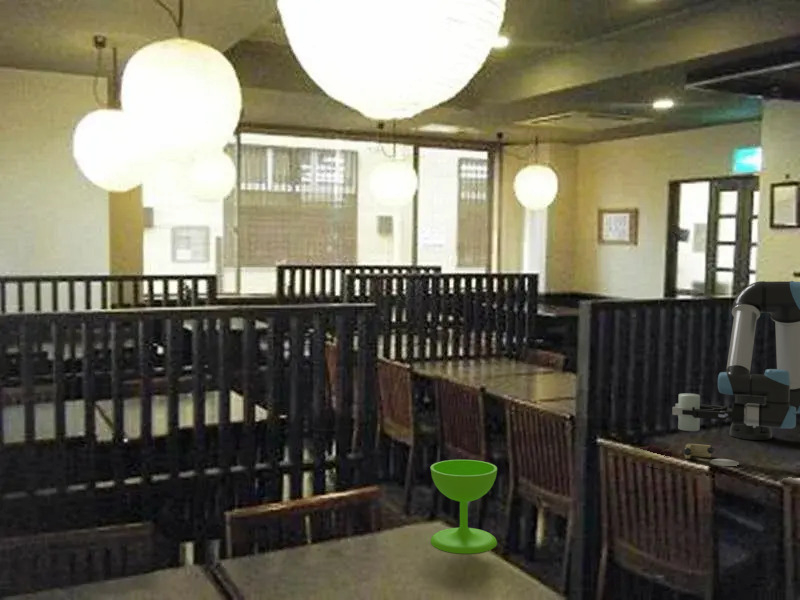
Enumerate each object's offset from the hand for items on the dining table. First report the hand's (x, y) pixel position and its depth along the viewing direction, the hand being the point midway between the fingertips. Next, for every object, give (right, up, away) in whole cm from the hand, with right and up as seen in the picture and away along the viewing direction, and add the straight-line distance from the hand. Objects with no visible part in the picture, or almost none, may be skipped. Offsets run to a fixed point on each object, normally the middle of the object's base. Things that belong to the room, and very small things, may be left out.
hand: (674, 409), depth 276 cm
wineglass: (-81, -20, -87) cm, 121 cm away
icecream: (-12, -17, -12) cm, 24 cm away
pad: (+13, -17, -12) cm, 24 cm away
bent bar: (+7, -16, -4) cm, 18 cm away
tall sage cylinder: (+4, -7, -2) cm, 8 cm away
